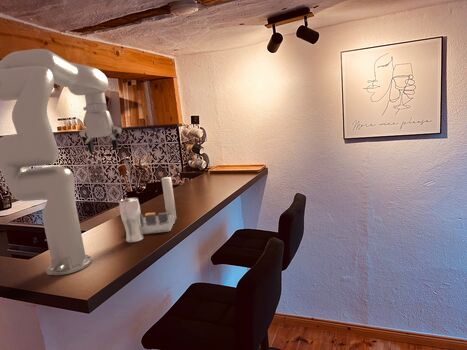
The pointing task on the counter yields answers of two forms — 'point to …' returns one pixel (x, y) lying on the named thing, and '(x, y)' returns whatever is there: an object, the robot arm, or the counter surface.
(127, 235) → the beer glass
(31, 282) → the counter surface
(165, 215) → the grey rectangular box
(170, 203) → the post
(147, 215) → the paddle mid
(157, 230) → the breaker panel
